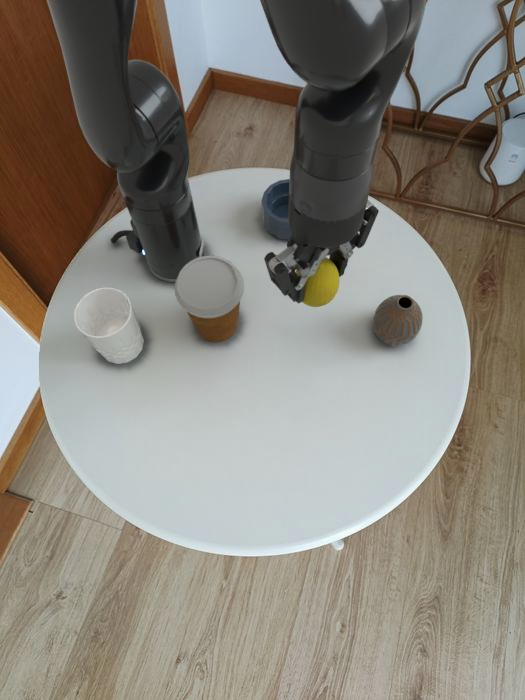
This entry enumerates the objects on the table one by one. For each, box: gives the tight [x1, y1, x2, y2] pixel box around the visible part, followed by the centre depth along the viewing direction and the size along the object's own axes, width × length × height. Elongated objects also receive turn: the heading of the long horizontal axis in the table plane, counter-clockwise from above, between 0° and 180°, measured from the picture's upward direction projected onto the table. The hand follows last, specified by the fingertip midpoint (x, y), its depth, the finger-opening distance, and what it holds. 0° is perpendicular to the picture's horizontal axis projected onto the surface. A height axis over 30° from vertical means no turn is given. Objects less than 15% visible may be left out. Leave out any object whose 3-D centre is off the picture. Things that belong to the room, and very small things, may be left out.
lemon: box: [295, 257, 340, 308], centre depth 65 cm, size 6×6×8 cm
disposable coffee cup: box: [174, 255, 245, 343], centre depth 77 cm, size 10×10×12 cm
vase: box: [372, 294, 424, 347], centre depth 77 cm, size 7×7×9 cm
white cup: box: [73, 286, 145, 365], centre depth 77 cm, size 8×8×10 cm
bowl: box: [261, 178, 291, 240], centre depth 89 cm, size 9×9×5 cm
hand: (315, 284), depth 65 cm, fingers closed on lemon, 5 cm apart
